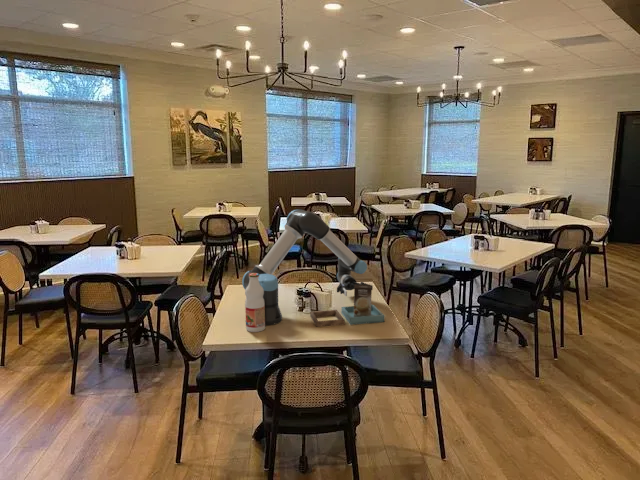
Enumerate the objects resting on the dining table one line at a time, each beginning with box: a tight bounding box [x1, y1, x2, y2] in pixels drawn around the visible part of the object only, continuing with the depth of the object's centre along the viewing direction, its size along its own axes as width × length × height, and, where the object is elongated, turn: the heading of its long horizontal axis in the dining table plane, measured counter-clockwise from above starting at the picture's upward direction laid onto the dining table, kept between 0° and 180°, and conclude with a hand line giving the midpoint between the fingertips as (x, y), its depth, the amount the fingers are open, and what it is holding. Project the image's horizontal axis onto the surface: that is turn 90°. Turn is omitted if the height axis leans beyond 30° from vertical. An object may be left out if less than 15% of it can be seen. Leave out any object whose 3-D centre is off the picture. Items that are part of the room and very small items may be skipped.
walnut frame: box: [309, 309, 346, 328], centre depth 257 cm, size 14×16×2 cm
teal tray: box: [340, 304, 386, 326], centre depth 261 cm, size 18×18×4 cm
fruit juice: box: [244, 273, 266, 333], centre depth 243 cm, size 9×9×28 cm
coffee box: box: [353, 284, 373, 317], centre depth 259 cm, size 9×6×16 cm
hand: (358, 292), depth 266 cm, fingers open, 13 cm apart
